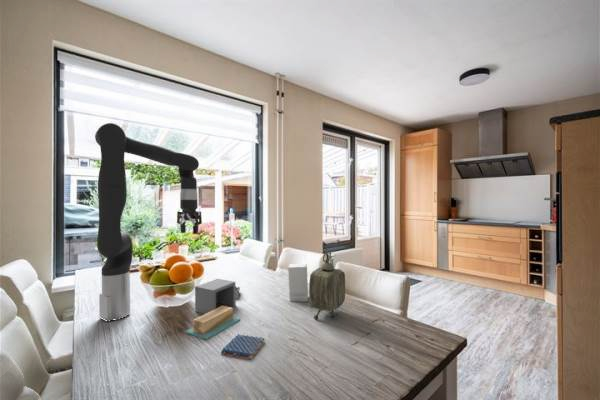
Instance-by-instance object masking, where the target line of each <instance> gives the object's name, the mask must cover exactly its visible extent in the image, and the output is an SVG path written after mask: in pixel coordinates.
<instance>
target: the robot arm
mask: <svg viewBox="0 0 600 400" xmlns="http://www.w3.org/2000/svg"><path fill="white" fill-rule="evenodd" d="M94 139H95V141H96V143H97V144H98V146H99V147H100V154H101V155H100V156H101V157H100V159H101V160H100V166H99V172H98V177H97V179H98V181H97V196H98V197H97V198H98V230H97V231H98V232H97V241H96V248H97V251H98V252H99V254H100V255H101V256H102V257H104V258H106V261H105V262H104V265H102V267H101V294H99V297H98V298H99V299H98V301H99V304H98V305H99V307H98V308H99V311H98V312H99V318H100V317H101V318H103V319H105V320H107V321H109V320H113V319H119V318H122V317H125V316H127V315H129V314H131V273H130V272H131V265H132V263H133V261H132V260H133V240H132V237H131V235H129V233H127V232H125V231H122V230H121V226H122V225H121V221H122V215H123V212H124V210H125V207H126V205H127V204H126V203H127V197H128V192H127V176H126V175H127V174H126V173H127V172H126V166H125V153H126V154H131V155H134V156H138V157H141V158H145V159H148V160H150V161H154V162H156V163H160V164H163V165H166V166H170V167H177V168H178V173H179V178H180V193H179V197H180V198H179V199H180V200H179V204H180V205H179V208H180V211H177V215H176V216H177V219H176V223H177V224H179V225H180V233H181V234H185V233H186V232H187V225H186V224H187V222H188V221H190V223H191V224H192V234H194V235H196V234H198V233H199V225H202V223H203V222H202V221H203V220H202V219H203V218H202V211H200V210H197V209H199V208H198V206H199V205H198V184H197V183H198V182H197V178H196V177H195V176H194V175H195V174H194V171H196V170H197V169H198V168H199V166H200V162H199V160H198V159H197V158H196V157H195V156H193V155H190V154H186V153H182V152H179V151H175V150H172V149H170V148H166V147H164V146H160V145H157V144H153V143H148V142H143V141H140V140H136V139H134V138H130V137H128V136H127V135H126V132H125V130H124V129H123V128H122V127H121V126H120V125H118V124H117V123H113V122H108V123H105V124H102V125H101V126H99V128H98V129H97V130H96V132H95V135H94ZM129 316H130V315H129ZM127 317H128V316H127ZM125 318H126V317H125ZM122 319H123V318H122ZM119 320H120V319H119Z"/></svg>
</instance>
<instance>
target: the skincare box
mask: <svg viewBox="0 0 600 400" xmlns="http://www.w3.org/2000/svg"><path fill="white" fill-rule="evenodd" d="M287 269H288V270H287V271H288V272H287V273H288V291H289V292H288V294H289V302H308V300H309V284H308V283H309V281H308V263H289V265H288V268H287Z"/></svg>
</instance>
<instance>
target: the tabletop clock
mask: <svg viewBox="0 0 600 400" xmlns="http://www.w3.org/2000/svg"><path fill="white" fill-rule="evenodd" d="M327 254H329V258H327V257H326V258H325V256H326V255H327ZM331 259H332V253H331V251H330V250H326V251H325V252H324V253H323V256H322V261H323V262H324V263H322V265H321V267H318V268H316V269H315V270H313V271H312V272H311V273H310V277H309V281H308V283H309V284H308V299H309V305H310V308H313V309H316V310H318V311H317V313H316V314H314V317H313V319H314V320H319V314H320V313H321V312H322V311H326V312H331V317H333V318H335V317H336V313H335V312H334V311H335V310H338V309H339V308H340V307H341V306H342V305H343V304H344V302H345V299H346V274H345V272H344V271H343V270H342V269H339V268H335V267H334V265H333V263H331V262H330V261H331Z"/></svg>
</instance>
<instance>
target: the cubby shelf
mask: <svg viewBox="0 0 600 400" xmlns="http://www.w3.org/2000/svg"><path fill="white" fill-rule="evenodd" d="M235 286H236V281H232V280H228V279H227V280H226V279H223V278H222V279H221V278H215V279H213V280H209V281H207V282H205V283H201V284H199V285H195V286H194V303H195V304H194V306H195V308H194V310H195V312H196V313H199V314H203V315H204V314H206V313H208V312H210V311H213V310H215V309H217V307H216V306H217V304H222V305H224V306H228V307H230V306H231V307H236V299H237V298H236V291H235Z"/></svg>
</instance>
